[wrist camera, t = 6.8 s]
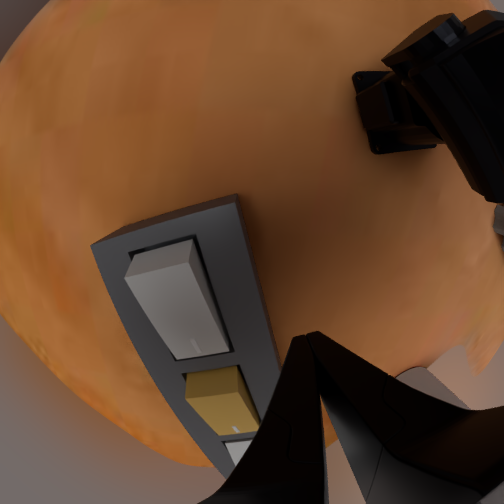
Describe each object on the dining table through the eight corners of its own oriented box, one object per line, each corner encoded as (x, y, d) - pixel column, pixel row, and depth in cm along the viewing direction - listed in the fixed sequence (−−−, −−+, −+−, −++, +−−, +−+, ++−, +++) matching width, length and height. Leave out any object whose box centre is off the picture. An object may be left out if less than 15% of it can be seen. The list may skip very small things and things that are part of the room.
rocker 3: (264, 424, 22) (265, 438, 19) (278, 467, 22) (279, 481, 20) (227, 429, 22) (224, 443, 20) (246, 471, 22) (244, 485, 20)
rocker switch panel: (237, 193, 19) (235, 202, 14) (299, 435, 27) (305, 467, 22) (120, 227, 19) (87, 246, 14) (225, 446, 27) (224, 478, 23)
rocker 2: (236, 365, 17) (238, 392, 15) (258, 408, 21) (260, 431, 19) (187, 372, 18) (184, 399, 16) (218, 414, 21) (218, 436, 19)
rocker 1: (192, 239, 15) (188, 262, 13) (228, 325, 18) (229, 351, 16) (134, 254, 15) (123, 278, 13) (179, 334, 18) (176, 360, 16)
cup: (378, 370, 24) (427, 457, 13) (443, 348, 24) (499, 414, 13) (365, 419, 27) (396, 495, 15) (424, 399, 27) (462, 461, 15)
